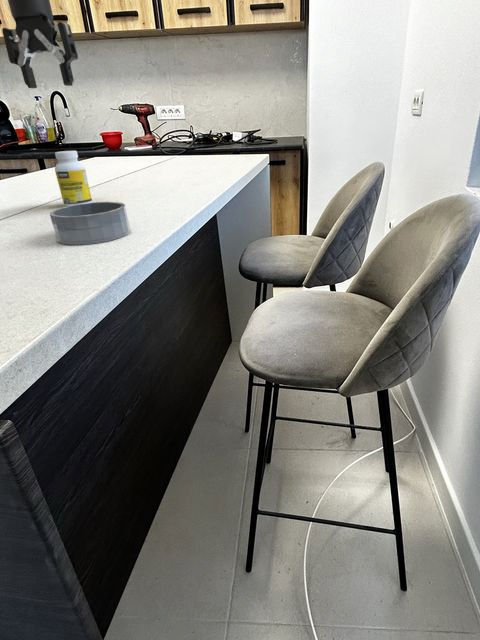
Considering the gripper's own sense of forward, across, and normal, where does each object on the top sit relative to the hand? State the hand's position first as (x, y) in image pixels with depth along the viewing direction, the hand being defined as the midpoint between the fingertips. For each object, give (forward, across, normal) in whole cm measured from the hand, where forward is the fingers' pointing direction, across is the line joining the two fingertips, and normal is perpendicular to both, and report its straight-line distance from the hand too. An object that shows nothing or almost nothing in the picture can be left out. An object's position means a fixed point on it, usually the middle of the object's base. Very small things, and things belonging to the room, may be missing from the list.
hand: (50, 86), depth 91 cm
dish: (+24, +20, -28) cm, 41 cm away
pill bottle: (+24, -1, 0) cm, 24 cm away
